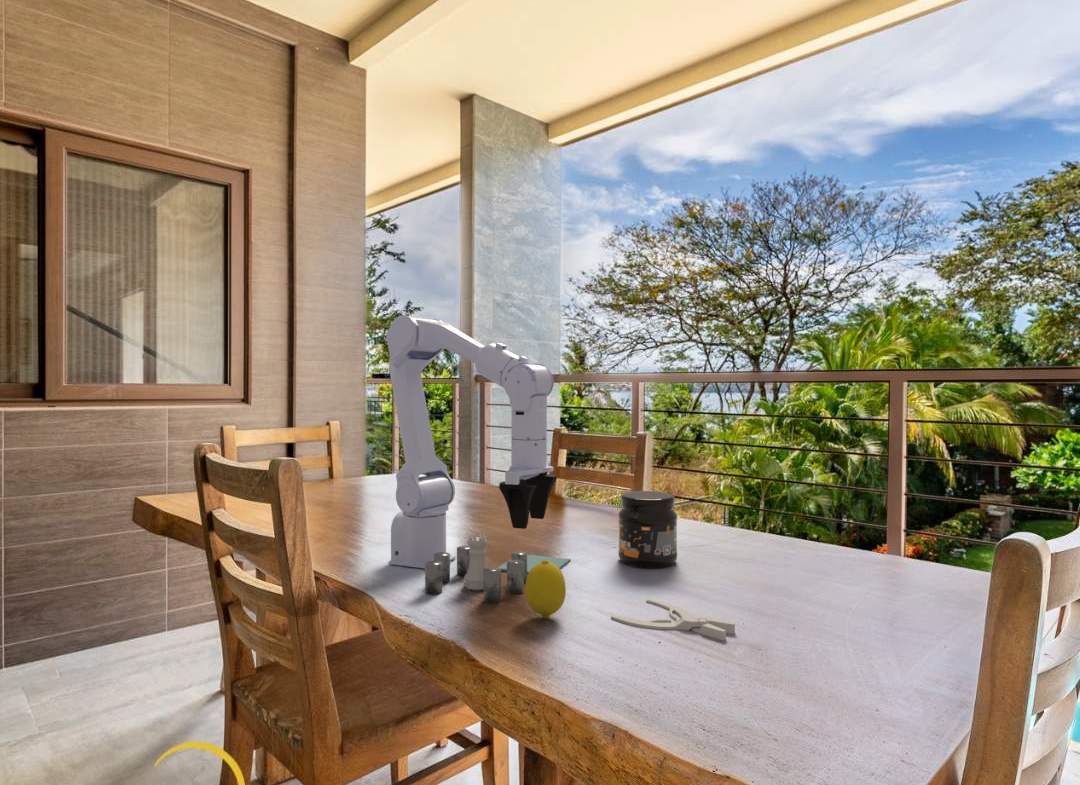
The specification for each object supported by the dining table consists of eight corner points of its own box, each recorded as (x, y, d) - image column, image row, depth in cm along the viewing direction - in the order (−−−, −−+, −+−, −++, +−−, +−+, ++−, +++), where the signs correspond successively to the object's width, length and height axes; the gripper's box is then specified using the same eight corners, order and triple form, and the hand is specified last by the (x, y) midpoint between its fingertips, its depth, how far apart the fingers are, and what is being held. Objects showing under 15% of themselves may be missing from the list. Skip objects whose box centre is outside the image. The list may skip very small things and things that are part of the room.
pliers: (648, 592, 95) (746, 616, 85) (649, 603, 95) (746, 628, 85) (609, 610, 87) (711, 638, 77) (610, 621, 87) (712, 651, 77)
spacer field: (413, 592, 99) (413, 563, 99) (454, 570, 110) (453, 544, 110) (505, 605, 93) (505, 574, 93) (538, 580, 105) (538, 552, 105)
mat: (496, 570, 110) (496, 568, 110) (519, 556, 120) (519, 553, 120) (550, 576, 107) (550, 574, 107) (570, 561, 116) (570, 559, 116)
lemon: (562, 627, 84) (562, 566, 84) (521, 624, 86) (521, 564, 86) (568, 612, 90) (568, 555, 90) (530, 609, 91) (529, 553, 91)
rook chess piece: (496, 584, 103) (496, 534, 103) (482, 592, 99) (482, 540, 99) (472, 581, 105) (472, 532, 105) (458, 588, 101) (457, 538, 100)
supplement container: (608, 556, 119) (608, 492, 119) (659, 551, 122) (659, 489, 122) (634, 572, 109) (634, 501, 109) (688, 566, 112) (688, 498, 112)
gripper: (535, 443, 95) (535, 535, 95) (567, 436, 109) (566, 516, 109) (492, 442, 98) (492, 530, 98) (528, 434, 111) (528, 513, 111)
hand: (528, 523), depth 104 cm, fingers open, 7 cm apart
